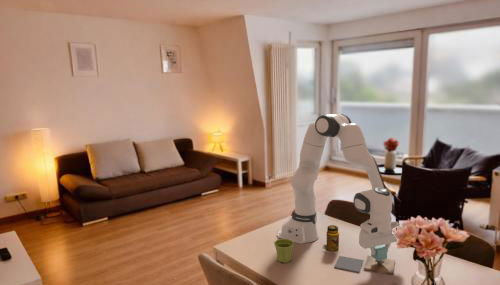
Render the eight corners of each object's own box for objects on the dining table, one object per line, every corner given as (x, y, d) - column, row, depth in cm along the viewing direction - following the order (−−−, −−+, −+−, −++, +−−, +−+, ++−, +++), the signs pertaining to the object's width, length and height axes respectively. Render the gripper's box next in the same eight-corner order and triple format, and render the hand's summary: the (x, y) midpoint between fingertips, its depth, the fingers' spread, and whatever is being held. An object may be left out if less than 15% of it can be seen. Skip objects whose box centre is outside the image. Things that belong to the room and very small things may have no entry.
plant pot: (271, 257, 170) (270, 241, 169) (288, 253, 174) (287, 237, 172) (280, 266, 162) (279, 249, 160) (297, 262, 165) (297, 244, 164)
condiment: (339, 253, 172) (339, 230, 170) (321, 251, 175) (321, 228, 173) (339, 246, 179) (340, 224, 177) (323, 244, 182) (323, 223, 179)
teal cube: (371, 256, 161) (371, 246, 160) (379, 254, 162) (379, 243, 161) (378, 260, 156) (378, 250, 155) (387, 258, 158) (387, 248, 157)
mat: (334, 268, 159) (334, 266, 159) (339, 256, 169) (339, 255, 169) (359, 272, 154) (359, 271, 154) (362, 261, 164) (362, 259, 164)
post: (363, 269, 157) (364, 255, 155) (367, 257, 167) (367, 243, 166) (392, 275, 151) (393, 260, 150) (394, 262, 162) (395, 248, 161)
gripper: (394, 218, 162) (393, 245, 164) (357, 225, 156) (356, 254, 158) (404, 223, 156) (403, 251, 159) (366, 230, 150) (365, 260, 152)
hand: (379, 253), depth 158 cm, fingers closed on teal cube, 5 cm apart
